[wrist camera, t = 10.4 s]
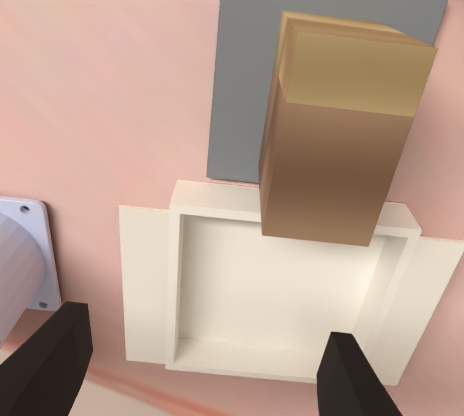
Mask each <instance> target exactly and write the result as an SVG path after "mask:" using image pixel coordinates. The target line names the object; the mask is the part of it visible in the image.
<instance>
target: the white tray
mask: <svg viewBox="0 0 464 416" xmlns="http://www.w3.org/2000/svg"><path fill="white" fill-rule="evenodd" d="M119 225H120V245H121V265H122V286H123V306H124V326H125V347H126V360H128V361H138V362H149V363H159V364H165V369H167V370H177V371H188V372H198V373H209V374H219V375H230V376H241V377H251V378H262V379H272V380H283V381H293V382H304V383H314V384H317V378H316V375H317V372H318V369H319V366H320V363H321V360H322V357H323V354H324V351H325V348H326V345H327V342H328V339H329V336H330V333H331V331H333V332H342V333H351V334H352V335H353V336H354V337H355V339H356V341H357V343H358V344H359V346H360V348H361V350H362V351H363V353H364V355H365V357H366V358H367V360H368V362H369V363H370V365H371V367H372V368H373V370H374V372H375V373H376V375H377V377H378V378H379V380H380V382H381V383H382V385H390V386H397V384H398V382H399V380H400V378H401V376H402V374H403V372H404V370H405V368H406V366H407V364H408V362H409V360H410V358H411V356H412V354H413V352H414V350H415V348H416V346H417V344H418V342H419V340H420V338H421V336H422V334H423V332H424V330H425V328H426V326H427V324H428V322H429V320H430V318H431V316H432V314H433V312H434V310H435V308H436V306H437V304H438V302H439V300H440V298H441V296H442V294H443V292H444V290H445V288H446V286H447V284H448V282H449V280H450V278H451V276H452V274H453V272H454V270H455V268H456V266H457V264H458V262H459V260H460V258H461V256H462V254H463V252H464V241H461V240H451V239H442V238H432V237H422V236H420V234H421V232H422V229H421V228H420V226H419V225H418V223H417V222H416V220H415V218H414V217H413V215H412V214H411V212H410V211H409V209H408V208H407V206H406V205H405V203H395V202H386V201H385V202H384V204H383V207H382V210H381V213H380V216H379V219H378V222H377V224H376V227H375V230H374V233H373V236H372V239H371V242H370V244H369V247H365V246H355V245H346V244H336V243H327V242H318V241H308V240H299V239H290V238H280V237H271V236H262V229H261V210H260V191H259V188H255V187H245V186H236V185H227V184H217V183H208V182H198V181H189V180H180V179H178V180H177V183H176V186H175V189H174V192H173V195H172V198H171V201H170V210H165V209H155V208H146V207H136V206H127V205H120V206H119Z"/></svg>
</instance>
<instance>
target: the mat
mask: <svg viewBox="0 0 464 416" xmlns="http://www.w3.org/2000/svg"><path fill="white" fill-rule="evenodd" d="M447 2H448V0H220V10H219V22H218V35H217V48H216V61H215V73H214V86H213V99H212V111H211V124H210V137H209V150H208V162H207V175H206V177H208V178H218V179H227V180H236V181H246V182H255V183H259V172H258V164H259V157H260V151H261V144H262V138H263V131H264V125H265V119H266V112H267V106H268V99H269V93H270V86H271V80H272V73H273V67H274V60H275V54H276V47H277V41H278V34H279V28H280V21H281V15H282V10H283V11H291V12H300V13H308V14H316V15H324V16H332V17H341V18H349V19H357V20H365V21H373V22H380V23H382V24H384V25H386V26H389V27H391V28H393V29H395V30H398V31H400V32H402V33H404V34H407V35H409V36H411V37H413V38H415V39H418V40H420V41H422V42H424V43H427V44H429V45H431V46H433V43H434V40H435V37H436V34H437V31H438V28H439V25H440V22H441V19H442V16H443V13H444V10H445V7H446V4H447Z"/></svg>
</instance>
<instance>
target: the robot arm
mask: <svg viewBox="0 0 464 416" xmlns="http://www.w3.org/2000/svg"><path fill="white" fill-rule="evenodd" d="M24 206H27V207H28V208H29V210H26V209H25V208H24ZM43 302H44V303H43ZM45 303H46V304H45ZM60 306H61V298H60V291H59V285H58V278H57V272H56V266H55V259H54V253H53V247H52V240H51V234H50V228H49V221H48V215H47V209H46V206H45V205H44V203H43V202H41V201H39V200H35V199H25V198H16V197H6V196H0V348H1V346H2V345H3V343H4V342H5V340H6V338H7V337H8V335H9V334H10V332H11V331H12V329H13V328H14V326H15V324H16V323H17V321H18V320H19V318H20V317H21V315H22V314H23V312H24V310H25V309H35V310H45V311H56V312H55V313H54V314H53V315H52V316H51V317H50V318H49V319H48V320H47V321H46V322H45V323H44V324H43V325H42V326H41V327H40V328H39V329H38V330H37V331H36V332H35V333H34V334H33V335H32V336H31V337H30V338H29V339H28V340H27V341H26V342H24V343H23V344H22V345H21V346H20V347H19V348H18V349H17V350H16V351H15V352H14V353H13V354H12V355H10V356H9V357H8V358H7V359H6V360H5V361H4V362H3V363H2V364H1V365H0V416H68V414H69V412H70V410H71V408H72V406H73V403H74V401H75V399H76V397H77V395H78V392H79V390H80V388H81V385H82V383H83V380H84V377H85V374H86V371H87V368H88V365H89V362H90V358H91V355H92V352H93V345H92V337H91V328H90V320H89V311H88V304H85V303H76V302H66V303H64V304H63V305H62V306H61V307H60ZM316 378H317V396H318V409H319V416H403V415H402V414H401V412H400V411H399V410H398V408H397V406H396V405H395V403H394V402H393V400H392V399H391V397H390V396H389V394H388V393H387V391H386V390H385V388H384V386H383V385H382V383H381V382H380V380H379V378H378V377H377V375H376V373H375V372H374V370H373V368H372V367H371V365H370V363H369V362H368V360H367V358H366V357H365V355H364V353H363V351H362V350H361V348H360V346H359V344H358V343H357V341H356V339H355V337H354V336H353V335H352V334H351V333H342V332H333V331H331V333H330V336H329V339H328V342H327V345H326V348H325V351H324V354H323V357H322V360H321V363H320V366H319V369H318V372H317V375H316Z"/></svg>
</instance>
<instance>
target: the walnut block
mask: <svg viewBox="0 0 464 416" xmlns="http://www.w3.org/2000/svg"><path fill="white" fill-rule="evenodd" d="M437 50H438V48H436V47H433V46H431V45H429V44H427V43H424V42H422V41H420V40H418V39H415V38H413V37H411V36H409V35H407V34H404V33H402V32H400V31H398V30H395V29H393V28H391V27H389V26H386V25H384V24H382V23H380V22H373V21H365V20H357V19H349V18H341V17H332V16H324V15H316V14H308V13H300V12H291V11H283V10H282V15H281V21H280V28H279V34H278V41H277V47H276V54H275V60H274V67H273V73H272V80H271V86H270V93H269V99H268V106H267V112H266V119H265V125H264V131H263V138H262V144H261V151H260V157H259V164H258V172H259V191H260V210H261V229H262V236H271V237H280V238H290V239H299V240H308V241H318V242H327V243H336V244H346V245H355V246H365V247H369V244H370V242H371V239H372V236H373V233H374V230H375V227H376V224H377V222H378V219H379V216H380V213H381V210H382V207H383V204H384V202H385V199H386V196H387V193H388V190H389V187H390V184H391V182H392V179H393V176H394V173H395V170H396V167H397V164H398V162H399V159H400V156H401V153H402V150H403V147H404V144H405V141H406V139H407V136H408V133H409V130H410V127H411V124H412V121H413V119H414V116H415V113H416V110H417V107H418V104H419V101H420V99H421V96H422V93H423V90H424V87H425V84H426V81H427V79H428V76H429V73H430V70H431V67H432V64H433V61H434V59H435V56H436V53H437Z"/></svg>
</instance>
